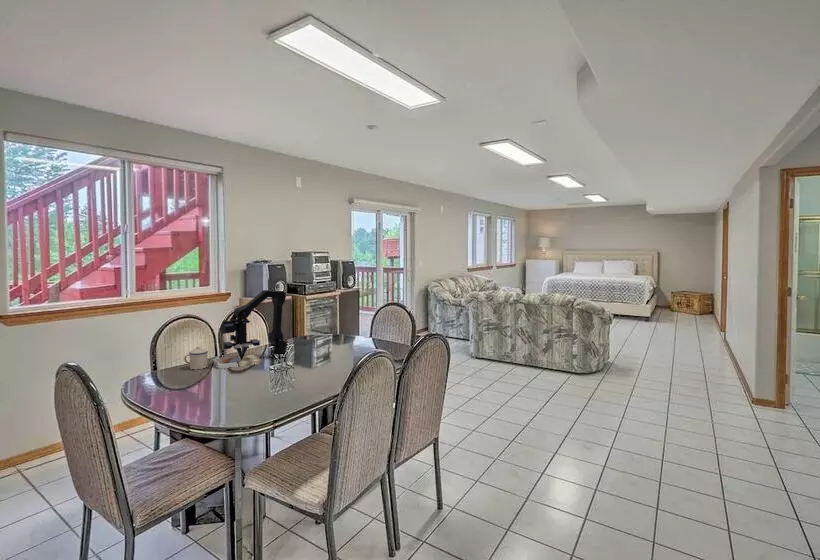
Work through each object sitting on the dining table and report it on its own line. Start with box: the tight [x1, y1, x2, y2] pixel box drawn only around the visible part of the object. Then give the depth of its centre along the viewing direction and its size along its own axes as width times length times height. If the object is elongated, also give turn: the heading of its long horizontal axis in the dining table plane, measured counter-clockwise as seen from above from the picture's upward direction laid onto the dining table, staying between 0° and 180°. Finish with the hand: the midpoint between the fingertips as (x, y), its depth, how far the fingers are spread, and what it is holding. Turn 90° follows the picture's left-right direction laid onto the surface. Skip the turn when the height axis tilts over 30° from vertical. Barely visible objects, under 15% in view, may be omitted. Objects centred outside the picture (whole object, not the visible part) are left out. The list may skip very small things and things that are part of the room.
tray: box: [212, 356, 239, 370], centre depth 240 cm, size 10×16×2 cm, turn 34°
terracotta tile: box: [221, 355, 234, 364], centre depth 243 cm, size 5×5×2 cm
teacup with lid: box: [183, 345, 209, 371], centre depth 233 cm, size 12×9×12 cm
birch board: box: [232, 354, 263, 367], centre depth 246 cm, size 12×16×2 cm
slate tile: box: [229, 354, 240, 363], centre depth 239 cm, size 5×5×2 cm
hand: (241, 359), depth 241 cm, fingers closed
